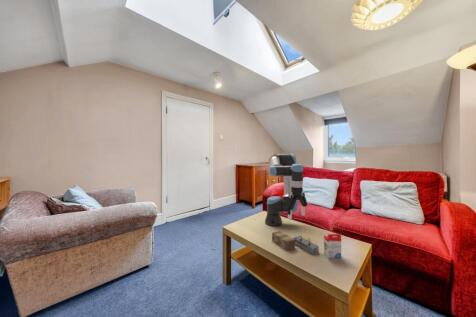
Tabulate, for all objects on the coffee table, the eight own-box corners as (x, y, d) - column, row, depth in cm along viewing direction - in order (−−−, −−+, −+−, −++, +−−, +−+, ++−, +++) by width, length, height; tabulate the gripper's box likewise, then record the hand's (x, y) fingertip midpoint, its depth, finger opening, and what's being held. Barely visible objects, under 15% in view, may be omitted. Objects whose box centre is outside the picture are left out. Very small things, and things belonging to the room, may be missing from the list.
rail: (293, 243, 126) (293, 232, 125) (299, 241, 129) (299, 231, 128) (312, 254, 112) (312, 243, 111) (318, 252, 115) (318, 240, 114)
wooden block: (272, 240, 129) (272, 232, 129) (279, 238, 133) (279, 230, 132) (287, 250, 116) (287, 241, 116) (294, 248, 120) (295, 239, 119)
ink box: (336, 253, 114) (337, 230, 113) (341, 257, 109) (341, 234, 108) (323, 253, 113) (323, 230, 113) (327, 258, 108) (328, 234, 108)
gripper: (288, 189, 113) (288, 222, 114) (313, 185, 126) (312, 215, 127) (279, 187, 119) (279, 219, 120) (304, 184, 133) (303, 212, 134)
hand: (296, 217), depth 124 cm, fingers open, 13 cm apart
